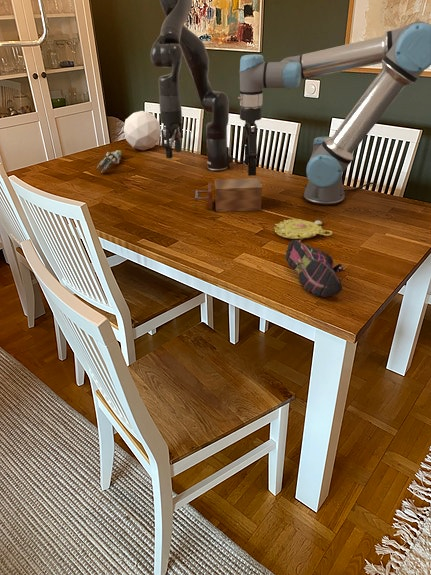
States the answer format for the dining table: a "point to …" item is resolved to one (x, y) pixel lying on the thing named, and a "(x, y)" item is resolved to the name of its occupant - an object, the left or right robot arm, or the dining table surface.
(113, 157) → the figurine
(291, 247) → the athletic shoe
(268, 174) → the dining table surface
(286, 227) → the decorative object
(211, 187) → the drawer
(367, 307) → the dining table surface
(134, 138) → the sphere
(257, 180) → the wooden drawer box
